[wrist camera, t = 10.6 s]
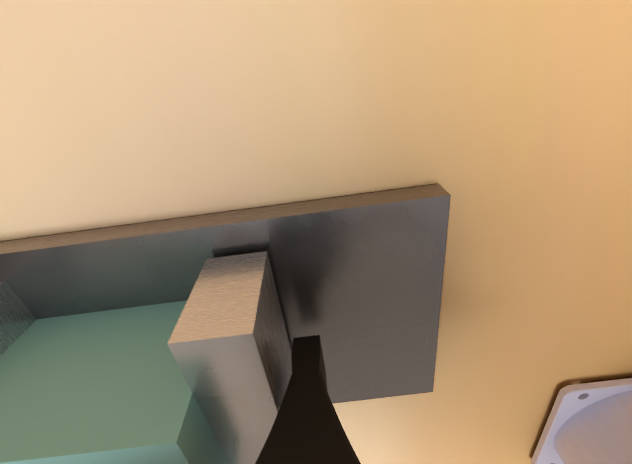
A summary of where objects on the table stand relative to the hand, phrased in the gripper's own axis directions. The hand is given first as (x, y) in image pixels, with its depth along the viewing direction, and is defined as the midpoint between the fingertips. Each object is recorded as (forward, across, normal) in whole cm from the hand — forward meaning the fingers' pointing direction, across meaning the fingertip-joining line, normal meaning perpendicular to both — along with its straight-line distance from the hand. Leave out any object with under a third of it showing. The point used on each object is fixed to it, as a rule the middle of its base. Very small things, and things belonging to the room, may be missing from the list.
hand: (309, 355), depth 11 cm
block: (+1, +6, 0) cm, 6 cm away
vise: (+2, +4, 0) cm, 4 cm away
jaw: (+1, +2, 0) cm, 2 cm away
